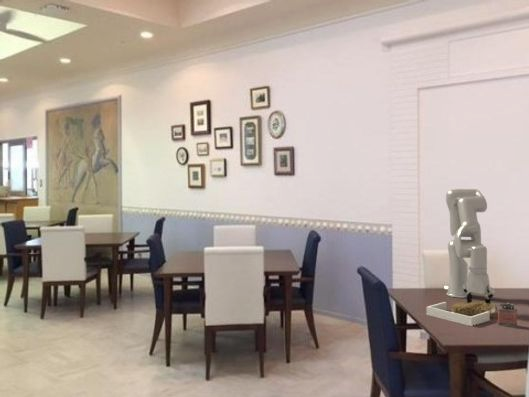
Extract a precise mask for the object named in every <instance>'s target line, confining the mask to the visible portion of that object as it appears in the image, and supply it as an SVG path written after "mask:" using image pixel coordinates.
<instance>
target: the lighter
mask: <svg viewBox="0 0 529 397" xmlns="http://www.w3.org/2000/svg"><path fill="white" fill-rule="evenodd" d="M498 305H499V307H497V325H498V326H503V327H518V321H517V320H518V319H517V318H518V309H517V308H515V304H514V303H510V302H506V303H505V302H499V304H498Z"/></svg>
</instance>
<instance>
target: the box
mask: <svg viewBox="0 0 529 397" xmlns="http://www.w3.org/2000/svg"><path fill="white" fill-rule="evenodd" d="M447 305H448V304H447V302H446V301H443V302H439V303H436V304H431V305H428V306H426V308H425V309H426V316H429V317H434V318H438V319H441V320H445V321H449V322H454V323H457V324H462V325H465V326H469V325H470V326H469V327H473V325H474V326H477V325H480V324H482V323H485V322H488V321H490V312H489V311H487V312H484V313H481V314H477V315H474V316H466V315H462V314H458V313H454V312H451V311H448V310H447V309H448V308H447V307H448V306H447ZM476 324H477V325H476Z"/></svg>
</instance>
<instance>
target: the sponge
mask: <svg viewBox="0 0 529 397" xmlns="http://www.w3.org/2000/svg"><path fill="white" fill-rule="evenodd" d="M487 311H489V312H490V318H491V319H493V318H495V317H496V315H497V312H498V307H497V306H496V304H492V303H490V304H489V303H485V302H477V301H476V302H471V303H467V302H455V303H454V304H452V305H451V307H450V312H454V313H458V314H462V315H466V316H474V315H477V314H481V313H484V312H487Z"/></svg>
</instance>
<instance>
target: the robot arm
mask: <svg viewBox="0 0 529 397" xmlns="http://www.w3.org/2000/svg"><path fill="white" fill-rule="evenodd" d="M445 202H446V206H447V208H448V212H449V232H450V234H451V236H452V237H454V239H452V240H450V241H449V242H448V244H447V250H448V257H449V285H444V287H443V289H444V290H446V291H447V292H446V295H447V296H448V297H451V298H460V299H461V298H462V299H464V298H465V299H466V303H473V295H472V294H476V295H483V296H484V297H485V299H484V303H489V304H491V300H492V298H493V297H494V296H495V294H496V292H497V291H496V290H495V289H494V288H492V287H491V286H490V285H491V284H490V277H489V274H488V273H487V272H488V271H487V270H488V268H487V267H488V262H487V261H488V248H487V246H485V245H484V244H482V234H481V233H482V230H481V224H480V223H479V220H478V215H477V213H485V212H486V211H487V209H488V203H487V199H486V198H485V196H484V195H483V193H482V192H481V191H480V190H479V189H476V188H465V189H464V188H455V189H450V190H448V191H447V192H446V195H445ZM462 238H470V239H462ZM465 259H470V266H468V262H467V261H466V260H465ZM468 270H469V271H468ZM490 292H491V293H490Z"/></svg>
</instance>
